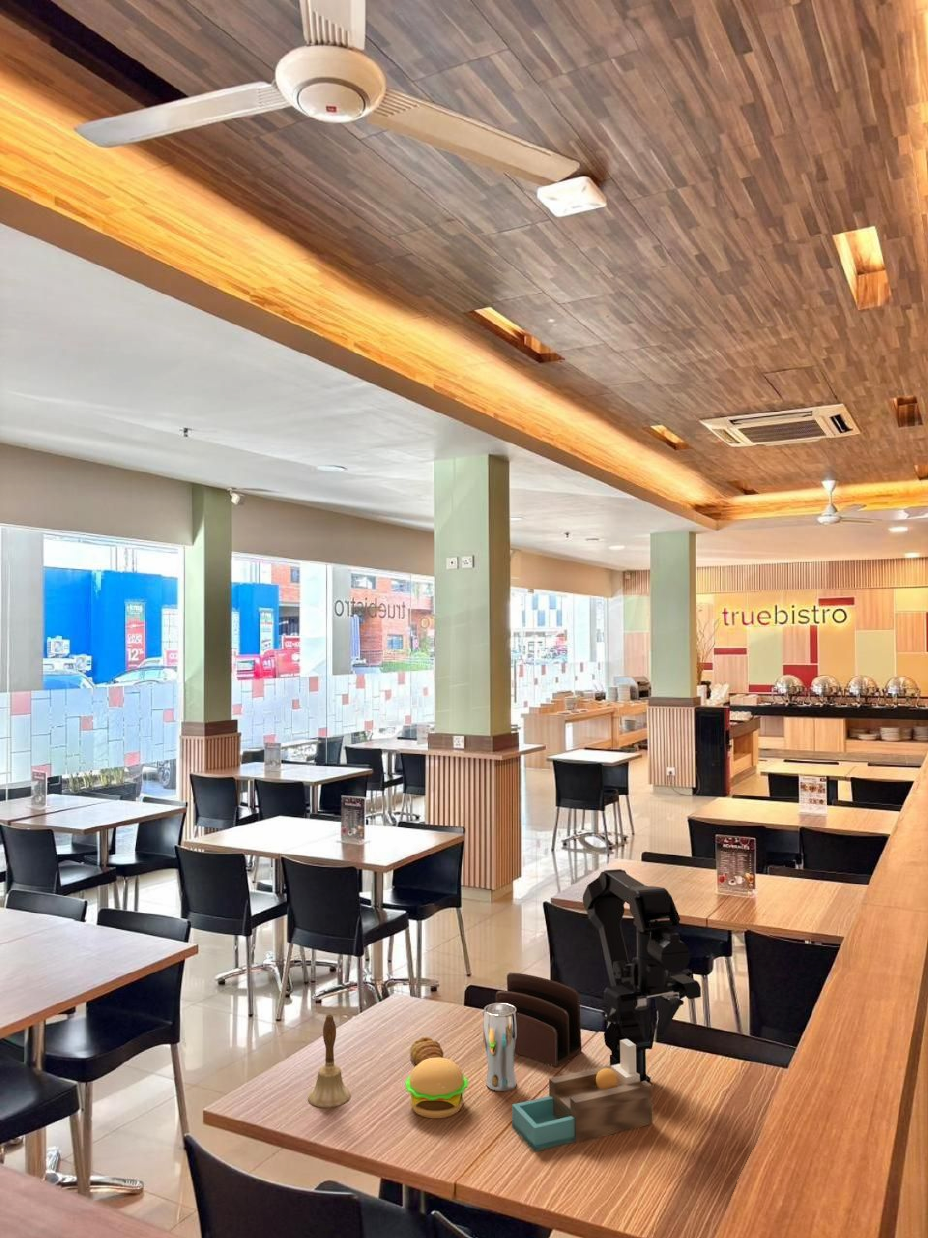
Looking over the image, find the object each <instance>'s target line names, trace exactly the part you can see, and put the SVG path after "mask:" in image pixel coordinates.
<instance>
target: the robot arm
mask: <svg viewBox="0 0 928 1238" xmlns="http://www.w3.org/2000/svg"><path fill="white" fill-rule="evenodd" d="M583 892H584V893H583V894H582V905H583V908H584V909H585V910H586V914H587V917H588V920H589V922H590V923H592V924H593V925H594V927H595V928H596V929H597V930H598V933H599V937H600V942H601V946H602V947H601V948H602V950H603V951H602V952H603V956H604V961H605V966H606V970H607V975H608V979H609V984H610V986H608V987H606V988H605V990H604V991H603V1002H604V1003H605V1004H606V1005H608V1006H609V1007H610V1008H611V1009H610V1013H609V1018H608V1019H609V1024H608V1026H607V1028H606V1029H605V1031H604V1033H603V1039H604V1044H605V1045H606V1047H607V1048H608V1049H609V1051H611V1053H610V1055H609V1065H613V1064H618V1063H620V1040H623V1039H628V1040H630V1041H631V1042H633V1043H634V1044H635V1045H636V1072H637V1073H638V1074H640V1082H641V1081H647V1082H648V1083H649V1082H650V1081H651V1077H650V1076H648V1074H647V1066H646V1065H647V1058H646V1055H647V1053H646V1050H653V1044H654V1040H655V1032H656V1026H655V1024H654V1021H653V1019H652V1017H651V1016H652V1008H651V1007H650V1006H649V1005H648V1003H647V1001H648V1000H647V999H652V998H655V1000H656V1003H657V1028H658V1035H659V1036H660V1037H661V1038H664V1037H665V1035H666V1032H667V1031H668V1029H669V1027H670V1025H671V1022H672V1020H673V1019H674V1016H675V1015H676V1014H677V1013H678V1012H677V1011H678V1010H679V1009H680V1007H681V1006H683V1005H684V1004H685V1002H684V1000H683V999H681V998H680V993H683V994H684V996H685V998H687V999H689V1000H693V999H698V998H701V997H702V986H701V985H700V983H699V982H698V981H697V980H696V979H694V978H692V977H690V976H688V975H687V974H685V973H682V972H684V971H685V969H686V968H687V967H688V966H689V964H690V961H691V952H690V950H689V948H688V946H687V945H686V944H685V943H684V942H683V941H681V939H680V938H681V935H680V934H679V933H677V932H675V931H677V930H678V931H679V930H681V928H682V926H681V923H680V921H681V918H680V914H679V913H678V910H677V907H676V905H675V903H674V900H673V897H672V895H671V894H670V893H669V891H668V890H667V889H666V887H662V886H661V887H660V886H655V885H654V886H653V885H652V886H651V885H649V886H648V885H645V884H643V882H640V881H639V880H637V879H636V878H634V877H632V876H631V875H629V874H627V872H626V870H624V869H621V868H620V869H617V868H616V869H615V868H614V869H604V870H603V871H601V872H600V874H599V875H598V877H597V878H596V879H594V880H592V882H590V883H588V884H587V886H586V888H585V890H584V891H583ZM625 904H628V906H629V913H630V914H631V915H632V917H633V925H634V926H636V957H633V958H632V963H630V961H629V957H628V952H627V948H626V943H625V939H624V935H623V930H622V927H621V926H622V924H621V923H622V921H623V918H624V913H625V911H626V910H625ZM667 919H668V920H667ZM668 973H672V974H676V975H669V976H668ZM678 973H682V974H678ZM635 987H636V988H635Z"/></svg>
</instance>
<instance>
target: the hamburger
mask: <svg viewBox="0 0 928 1238" xmlns="http://www.w3.org/2000/svg"><path fill="white" fill-rule="evenodd" d="M468 1086H469V1081H468V1078H466V1077H465V1075H464V1073H463V1072H462V1070H461V1068H460V1066H459V1065H458V1064H456V1062H454V1061H453V1060H451V1059H449V1058H446V1057H445V1058H444V1057H443V1058H429V1059H425V1060H423V1061H422V1062H420V1063H419V1064H418V1065H415V1067H414V1068H413V1069H412V1071H411V1073H410V1075H408V1077H407V1079H406V1082H405V1089H406V1091H407V1092H408V1093H410V1101H409V1102H410V1107H411V1108H412V1110H413V1111H414V1112H415V1113H416V1114H417V1115H419V1116H421V1117H423V1118H427V1119H444V1118H448V1117H452V1116H454V1115H455V1114H457V1113H458V1112H460V1110H461V1108H462V1106H463V1105H464V1097H463V1093H464V1091H465V1090H466V1089H467V1088H468Z"/></svg>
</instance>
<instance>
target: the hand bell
mask: <svg viewBox="0 0 928 1238" xmlns="http://www.w3.org/2000/svg"><path fill="white" fill-rule="evenodd" d="M322 1039H323V1043H324V1045H325V1059H324V1060H325V1062H324V1063H325V1064H324V1065H323V1066H321V1067H319V1068H318V1071H317V1078H316V1083H315V1086H314V1088H313V1089H312V1090H311V1091H310V1092H309V1094H308V1096H307V1100H308V1102H309V1103H310V1104H311V1105H312V1106H314V1107H318V1108H322V1109H323V1108H327V1109H329V1108H336V1107H338V1106H339V1107H340V1106H342V1105H344V1104H346V1103H347V1102H348V1101H350V1099H351V1097H352V1094H351V1092H350V1090H349V1088H347V1087H346V1086H345V1084H344V1081H343V1077H342V1076H343V1075H342V1069H341V1067H340V1066H339V1065H336V1064H335V1057H334V1056H335V1054H334V1051H335V1050H334V1049H335V1048H334V1047H335V1042H336V1039H337V1026H336V1022H335V1020H334V1016H333V1014H332V1013H331V1014H327V1015H326V1016H325V1021H324V1024H323V1027H322Z"/></svg>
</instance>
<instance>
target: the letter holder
mask: <svg viewBox="0 0 928 1238" xmlns="http://www.w3.org/2000/svg"><path fill="white" fill-rule="evenodd" d="M506 975H507V976H506V986H507V987H506V989H507V990H497V992H496V993H495V1003H507V1004H511V1005H513V1006H515V1007H516V1012H517V1023H518V1039H517V1047H516V1053H515V1055H520V1056H523V1057H526V1058H529V1059H531V1060H534V1061H537V1062H540V1063H543V1064H545V1063H546V1064H545V1065H548V1064H549V1066H551V1065H552V1067H554V1068H558V1067H559V1066H561V1065H562V1064H564V1063H565V1062H568V1060H570V1059H572V1058H574V1057H576V1056H577V1055H579V1054H580V1053H581V1052H582V1032H581V1031H582V1029H581V1027H582V1026H581V1003H580V1002H581V1001H580V994H579V992H578V991H577V989H574V988H572V987H570V986H568V985H565V984H563V983H560V982H558V981H555V980H551V979H548V978H544V977H540V976H536V975H534V974H533V975H532V974H528V973H527V974H526V973H521V972H508V973H507V974H506ZM482 1036H483V1040H484V1035H482Z"/></svg>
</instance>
